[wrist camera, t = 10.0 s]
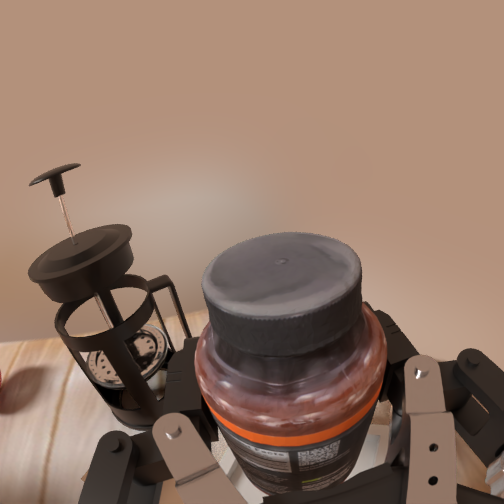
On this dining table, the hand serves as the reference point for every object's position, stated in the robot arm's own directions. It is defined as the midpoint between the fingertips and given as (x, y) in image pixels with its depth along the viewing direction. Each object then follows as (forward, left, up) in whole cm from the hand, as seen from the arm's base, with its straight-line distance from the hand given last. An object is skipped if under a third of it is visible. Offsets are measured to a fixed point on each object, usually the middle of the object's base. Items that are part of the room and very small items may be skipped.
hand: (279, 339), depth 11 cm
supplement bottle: (+1, -2, -7) cm, 7 cm away
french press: (-16, +3, -15) cm, 22 cm away
